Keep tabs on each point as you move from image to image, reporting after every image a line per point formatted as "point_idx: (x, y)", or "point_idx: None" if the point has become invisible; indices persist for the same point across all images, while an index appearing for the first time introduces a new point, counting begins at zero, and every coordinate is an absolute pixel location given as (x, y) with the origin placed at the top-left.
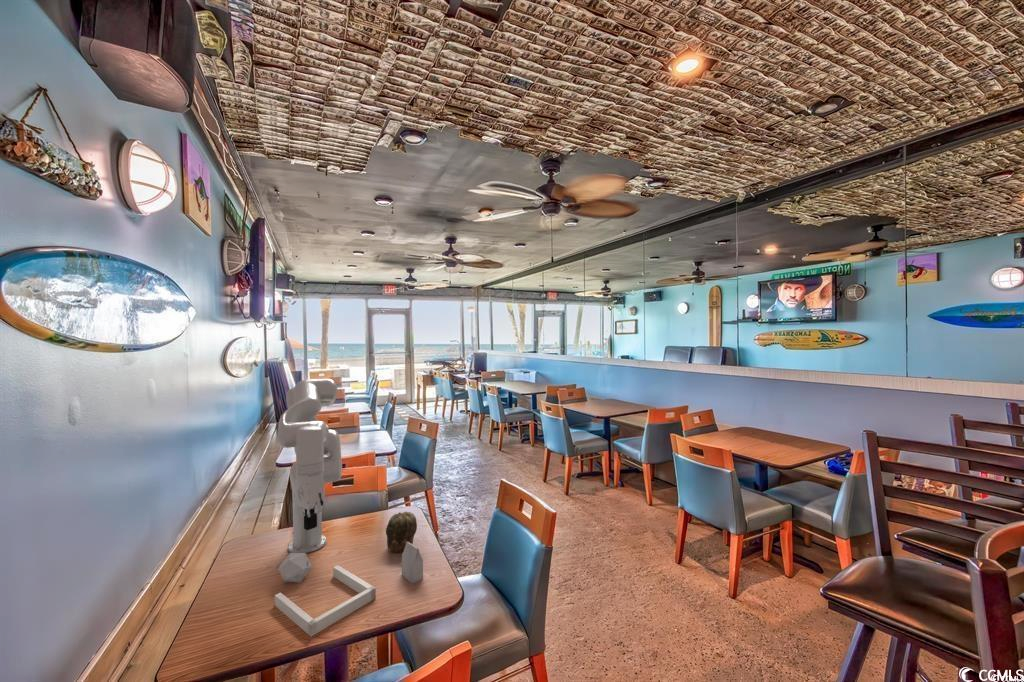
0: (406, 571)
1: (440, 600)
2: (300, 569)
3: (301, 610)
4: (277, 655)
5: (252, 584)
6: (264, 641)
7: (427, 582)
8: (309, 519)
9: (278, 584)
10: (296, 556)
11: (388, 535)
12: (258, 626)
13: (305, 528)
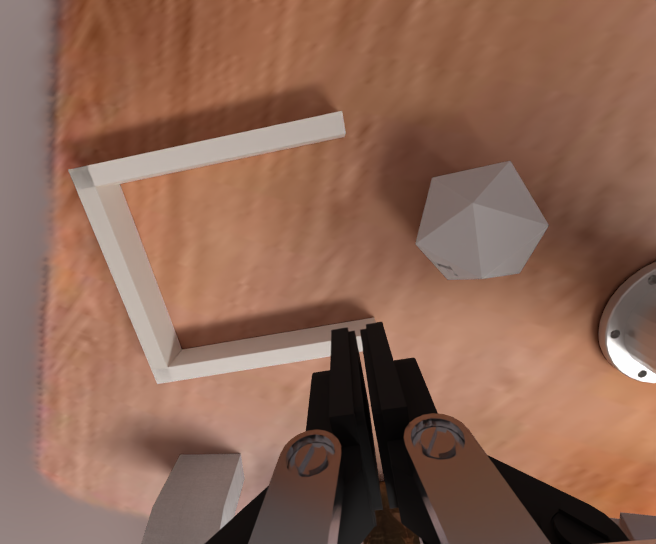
0: (206, 471)
1: (68, 465)
2: (421, 233)
3: (170, 166)
4: (59, 60)
5: (559, 76)
6: (154, 39)
7: (161, 478)
8: (324, 420)
9: (473, 160)
10: (484, 238)
11: (389, 533)
12: (252, 39)
13: (361, 331)
